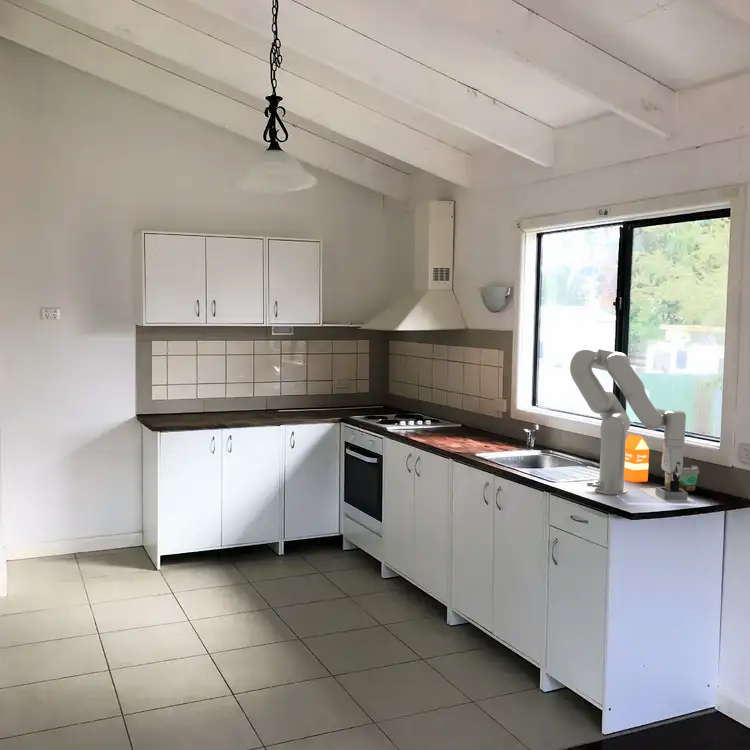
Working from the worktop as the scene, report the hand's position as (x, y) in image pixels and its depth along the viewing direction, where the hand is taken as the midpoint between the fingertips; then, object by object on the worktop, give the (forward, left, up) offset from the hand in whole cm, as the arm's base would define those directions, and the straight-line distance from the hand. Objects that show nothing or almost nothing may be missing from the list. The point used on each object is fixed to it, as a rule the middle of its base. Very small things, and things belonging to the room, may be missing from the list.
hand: (671, 488), depth 321 cm
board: (0, +5, -4) cm, 7 cm away
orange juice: (-3, +33, -4) cm, 33 cm away
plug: (0, 0, -1) cm, 1 cm away
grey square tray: (0, 0, -4) cm, 4 cm away
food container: (+13, +14, -4) cm, 20 cm away
